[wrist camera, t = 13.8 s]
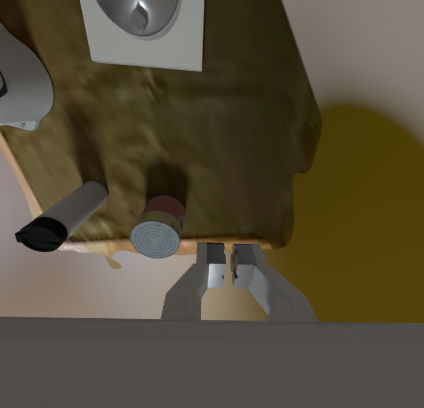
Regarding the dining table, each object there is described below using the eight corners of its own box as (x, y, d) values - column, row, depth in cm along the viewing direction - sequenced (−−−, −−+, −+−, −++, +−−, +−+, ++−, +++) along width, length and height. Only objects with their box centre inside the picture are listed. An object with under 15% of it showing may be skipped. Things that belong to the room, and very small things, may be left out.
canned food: (184, 230, 57) (178, 260, 46) (146, 226, 56) (132, 256, 45) (186, 197, 51) (180, 223, 41) (144, 193, 50) (127, 218, 40)
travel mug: (82, 177, 47) (10, 223, 30) (109, 183, 48) (54, 232, 31) (83, 197, 50) (18, 250, 33) (108, 203, 51) (58, 257, 34)
